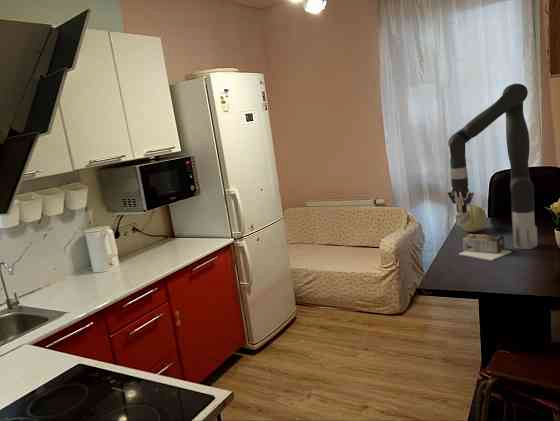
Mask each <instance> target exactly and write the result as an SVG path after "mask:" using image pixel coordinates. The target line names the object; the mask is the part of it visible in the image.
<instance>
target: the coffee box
mask: <svg viewBox="0 0 560 421" xmlns="http://www.w3.org/2000/svg"><path fill="white" fill-rule="evenodd" d="M504 238H505V237H504V235H501V234H497V235H495V234H481V233H480V234H478V233H477V234H476V233H469V234H468V235H466V236H465V237H464V238H462V245H463V247H462V248H463V252H464V251H476V252H488V253H499V252H501V251H502V250H505V239H504Z"/></svg>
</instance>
